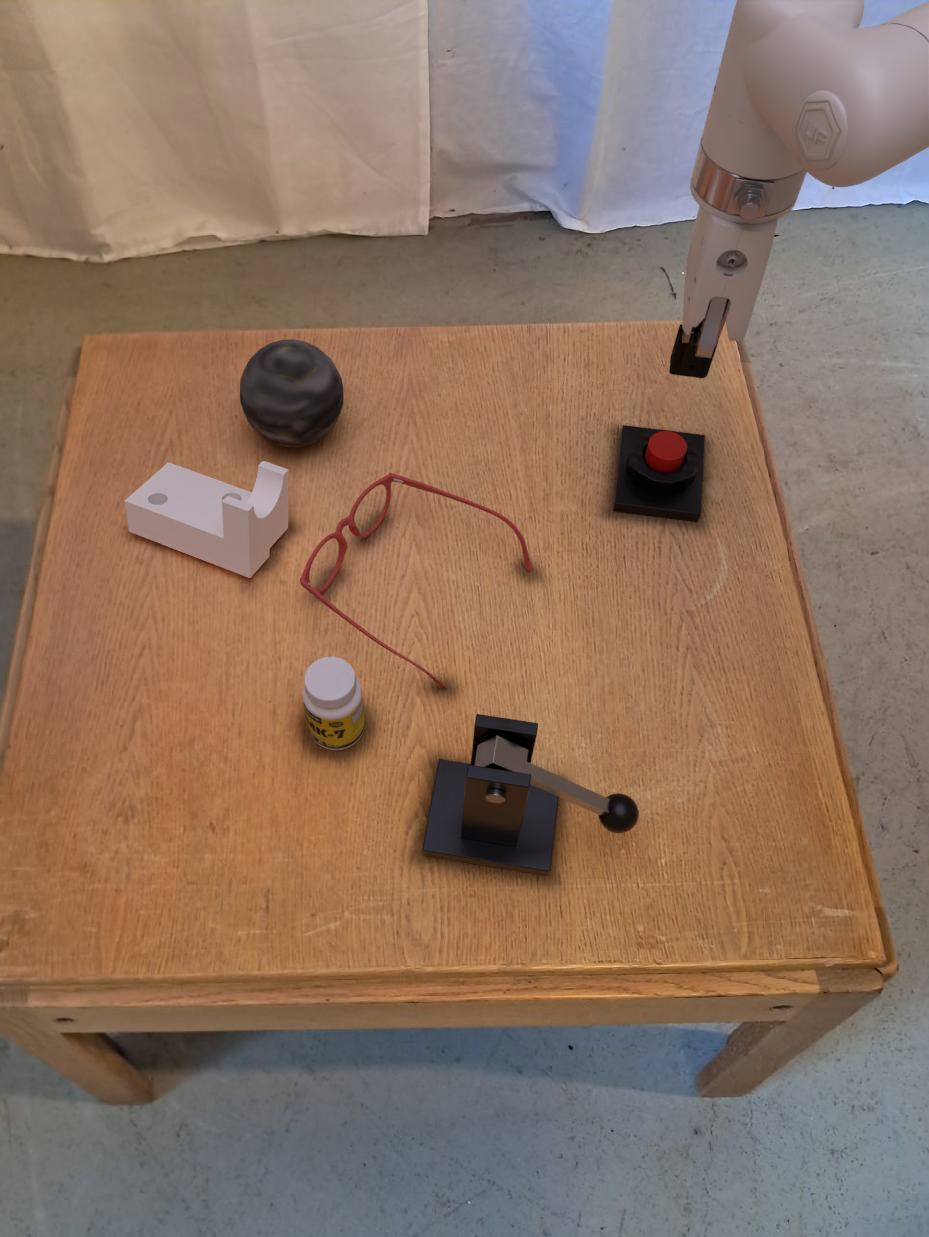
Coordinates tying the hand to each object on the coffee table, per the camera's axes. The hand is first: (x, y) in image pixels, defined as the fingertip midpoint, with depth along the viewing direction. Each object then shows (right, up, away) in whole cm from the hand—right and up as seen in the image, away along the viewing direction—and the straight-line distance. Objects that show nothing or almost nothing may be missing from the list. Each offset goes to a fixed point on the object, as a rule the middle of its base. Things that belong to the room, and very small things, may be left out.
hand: (687, 369), depth 87 cm
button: (0, -5, +9) cm, 11 cm away
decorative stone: (-35, -2, +15) cm, 38 cm away
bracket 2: (-17, -38, -5) cm, 42 cm away
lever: (-13, -35, -12) cm, 39 cm away
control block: (0, -7, +12) cm, 14 cm away
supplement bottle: (-30, -31, -1) cm, 43 cm away
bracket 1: (-42, -12, +10) cm, 45 cm away
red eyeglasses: (-23, -18, +6) cm, 30 cm away
